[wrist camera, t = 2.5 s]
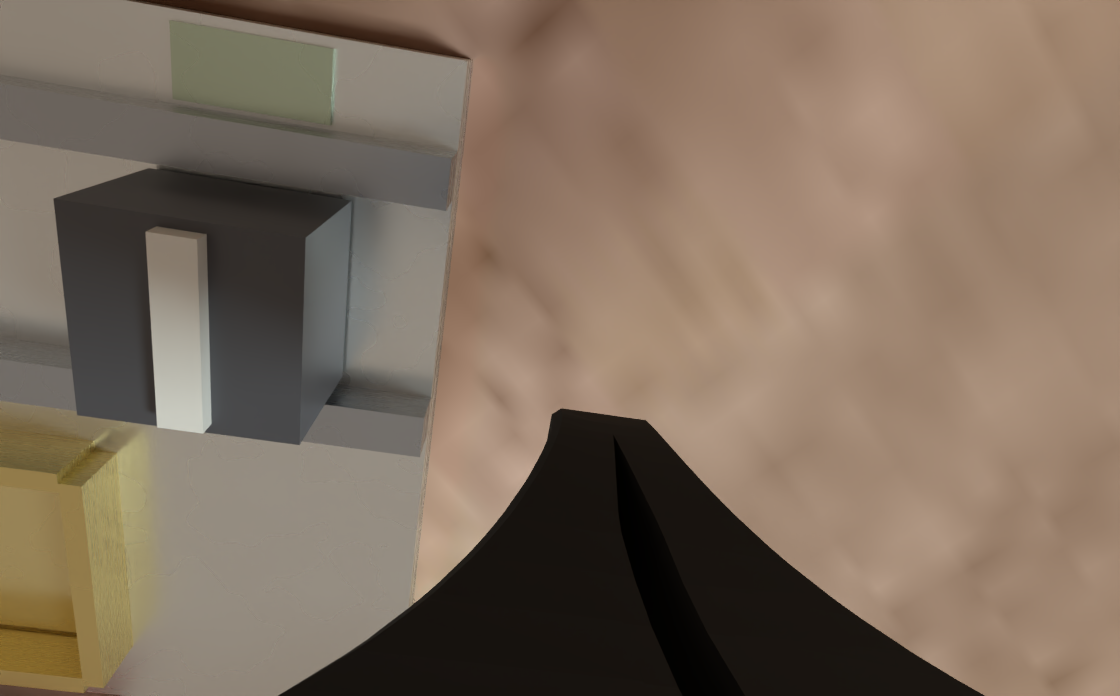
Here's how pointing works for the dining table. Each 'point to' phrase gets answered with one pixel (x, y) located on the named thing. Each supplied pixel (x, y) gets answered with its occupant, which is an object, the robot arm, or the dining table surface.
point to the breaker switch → (204, 303)
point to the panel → (204, 459)
